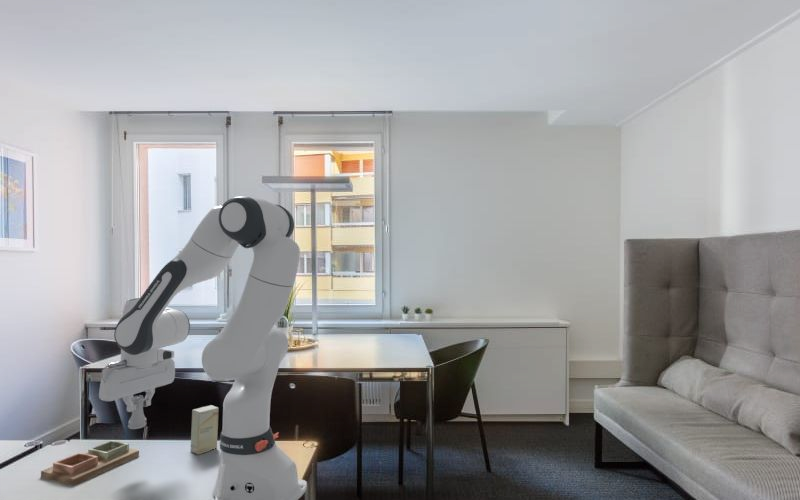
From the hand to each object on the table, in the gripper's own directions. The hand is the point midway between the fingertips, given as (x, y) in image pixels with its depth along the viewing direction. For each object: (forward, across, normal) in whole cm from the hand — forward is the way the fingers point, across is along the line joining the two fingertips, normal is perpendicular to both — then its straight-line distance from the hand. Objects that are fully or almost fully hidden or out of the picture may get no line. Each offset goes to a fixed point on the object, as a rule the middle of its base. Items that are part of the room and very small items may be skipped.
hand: (138, 408), depth 116 cm
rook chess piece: (+5, 0, 0) cm, 5 cm away
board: (+16, -3, +13) cm, 20 cm away
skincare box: (+16, +16, -7) cm, 24 cm away
